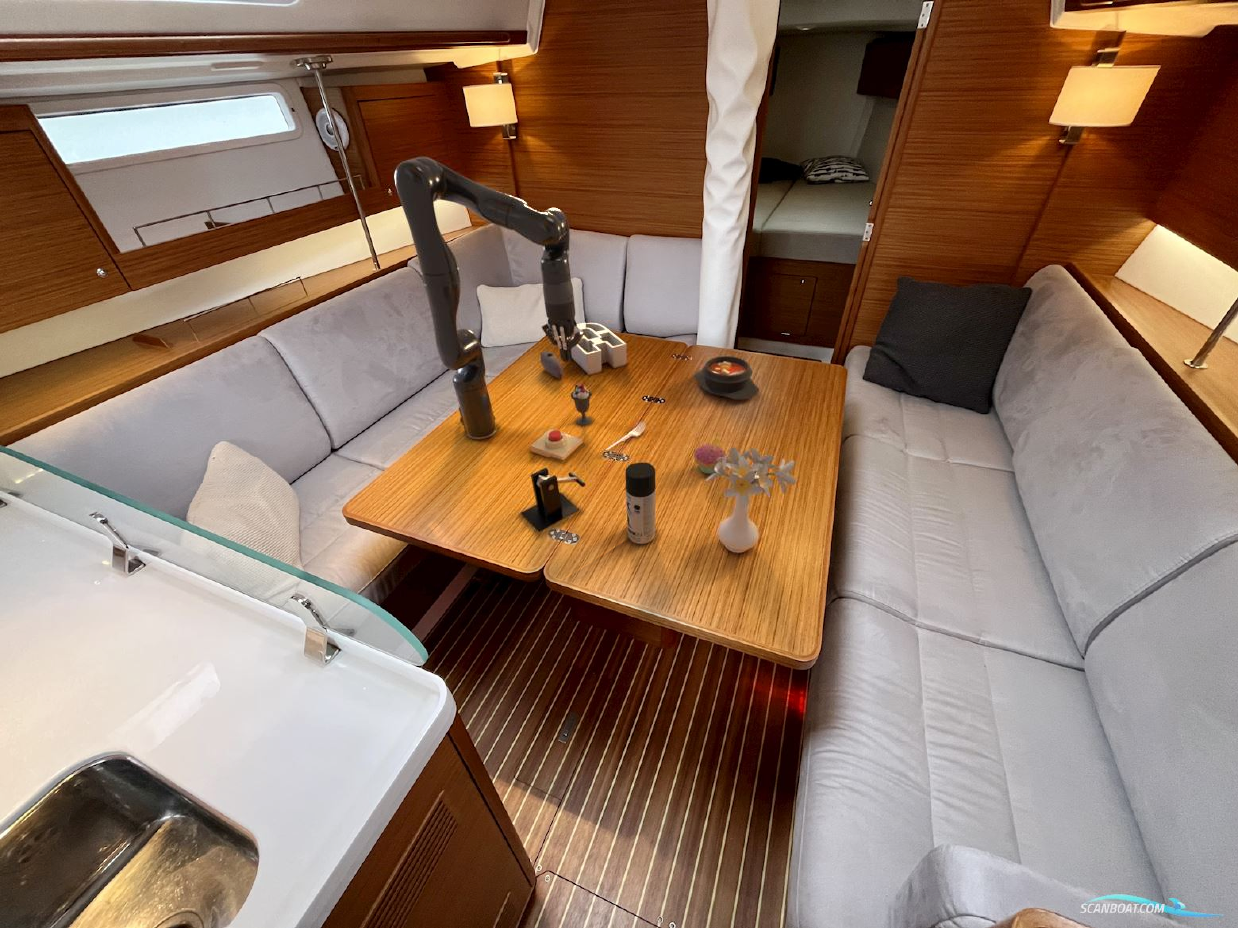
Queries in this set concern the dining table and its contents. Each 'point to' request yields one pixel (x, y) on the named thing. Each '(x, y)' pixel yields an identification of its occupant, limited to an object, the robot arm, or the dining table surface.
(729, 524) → the flower vase
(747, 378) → the casserole
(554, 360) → the perforated stone tool
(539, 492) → the bracket
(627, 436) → the fork
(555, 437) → the button
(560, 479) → the lever
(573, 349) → the white compartment organizer
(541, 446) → the button housing
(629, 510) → the spray can
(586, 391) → the sundae
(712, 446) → the cupcake
